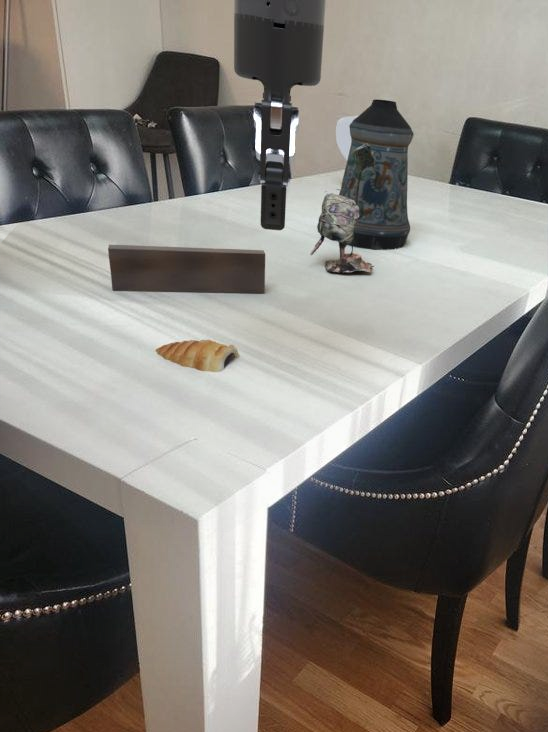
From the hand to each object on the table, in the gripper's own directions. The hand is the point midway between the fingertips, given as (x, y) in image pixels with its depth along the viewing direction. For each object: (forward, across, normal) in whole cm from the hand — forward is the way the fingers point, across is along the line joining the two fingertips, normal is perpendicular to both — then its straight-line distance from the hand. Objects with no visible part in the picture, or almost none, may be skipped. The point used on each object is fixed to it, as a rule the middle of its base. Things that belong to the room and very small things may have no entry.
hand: (272, 217), depth 63 cm
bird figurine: (+18, -48, +12) cm, 53 cm away
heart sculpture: (+19, -123, +23) cm, 126 cm away
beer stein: (+18, -73, +20) cm, 77 cm away
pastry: (+18, -3, -8) cm, 20 cm away
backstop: (+18, -31, -12) cm, 38 cm away
